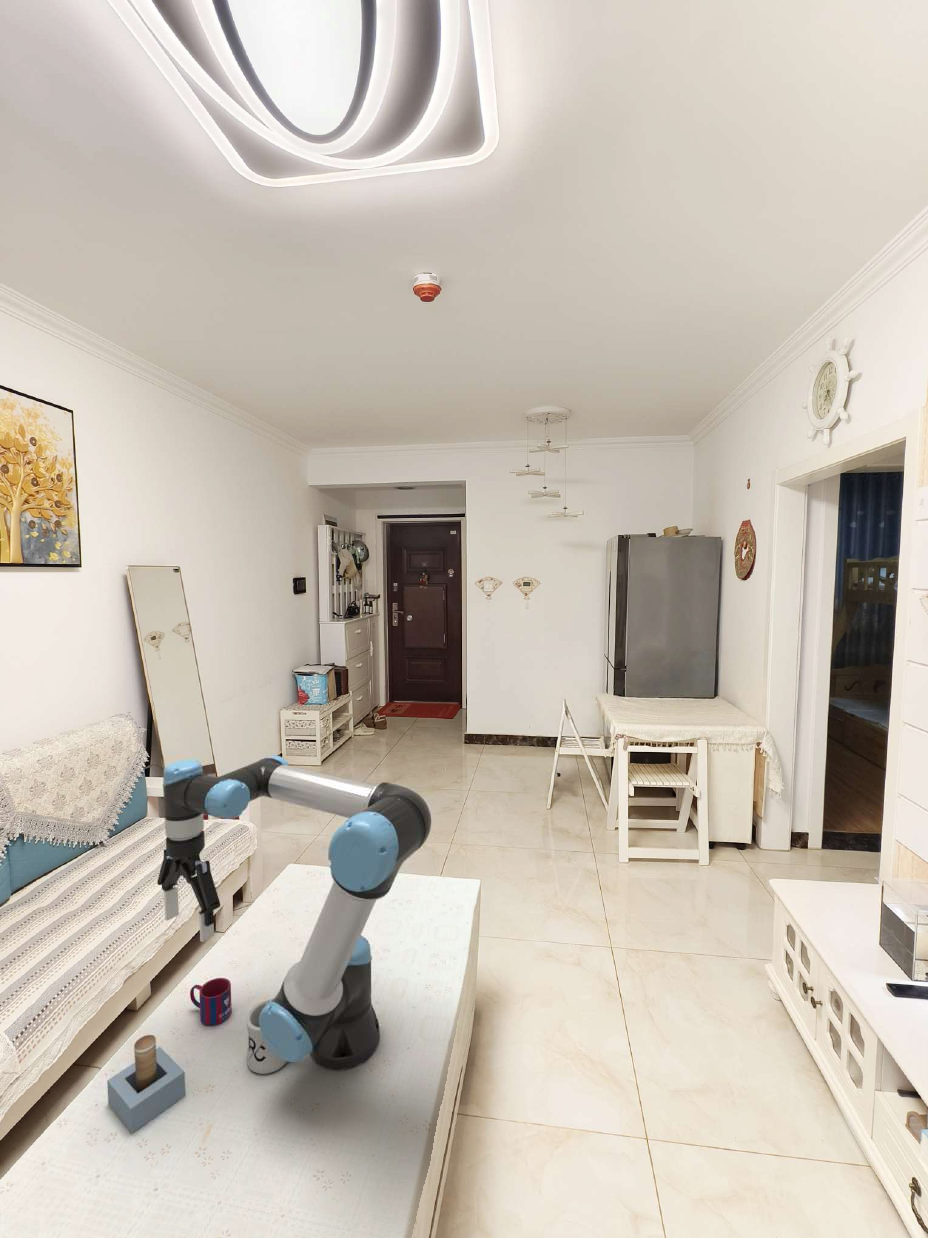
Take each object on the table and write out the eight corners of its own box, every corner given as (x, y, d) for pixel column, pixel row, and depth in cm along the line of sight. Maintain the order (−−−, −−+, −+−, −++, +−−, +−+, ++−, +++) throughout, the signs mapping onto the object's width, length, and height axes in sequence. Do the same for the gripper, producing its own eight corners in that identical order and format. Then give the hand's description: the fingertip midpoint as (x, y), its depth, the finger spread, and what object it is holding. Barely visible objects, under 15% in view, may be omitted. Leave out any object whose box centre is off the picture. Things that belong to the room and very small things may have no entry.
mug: (237, 1071, 120) (236, 1026, 120) (262, 1037, 129) (261, 995, 128) (291, 1084, 117) (290, 1037, 117) (313, 1048, 126) (312, 1005, 125)
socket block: (185, 1095, 115) (184, 1072, 114) (131, 1134, 107) (130, 1109, 106) (160, 1069, 121) (159, 1047, 120) (108, 1104, 113) (107, 1080, 112)
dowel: (161, 1098, 114) (159, 1041, 113) (142, 1112, 111) (139, 1053, 110) (152, 1088, 116) (150, 1032, 115) (133, 1101, 113) (130, 1044, 112)
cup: (216, 1030, 131) (215, 1001, 131) (182, 1017, 135) (181, 990, 134) (237, 1009, 137) (237, 982, 137) (205, 998, 141) (204, 971, 140)
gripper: (235, 841, 121) (239, 938, 123) (170, 814, 135) (174, 901, 137) (202, 855, 115) (206, 957, 117) (137, 826, 129) (142, 917, 131)
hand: (189, 927), depth 127 cm, fingers open, 13 cm apart
